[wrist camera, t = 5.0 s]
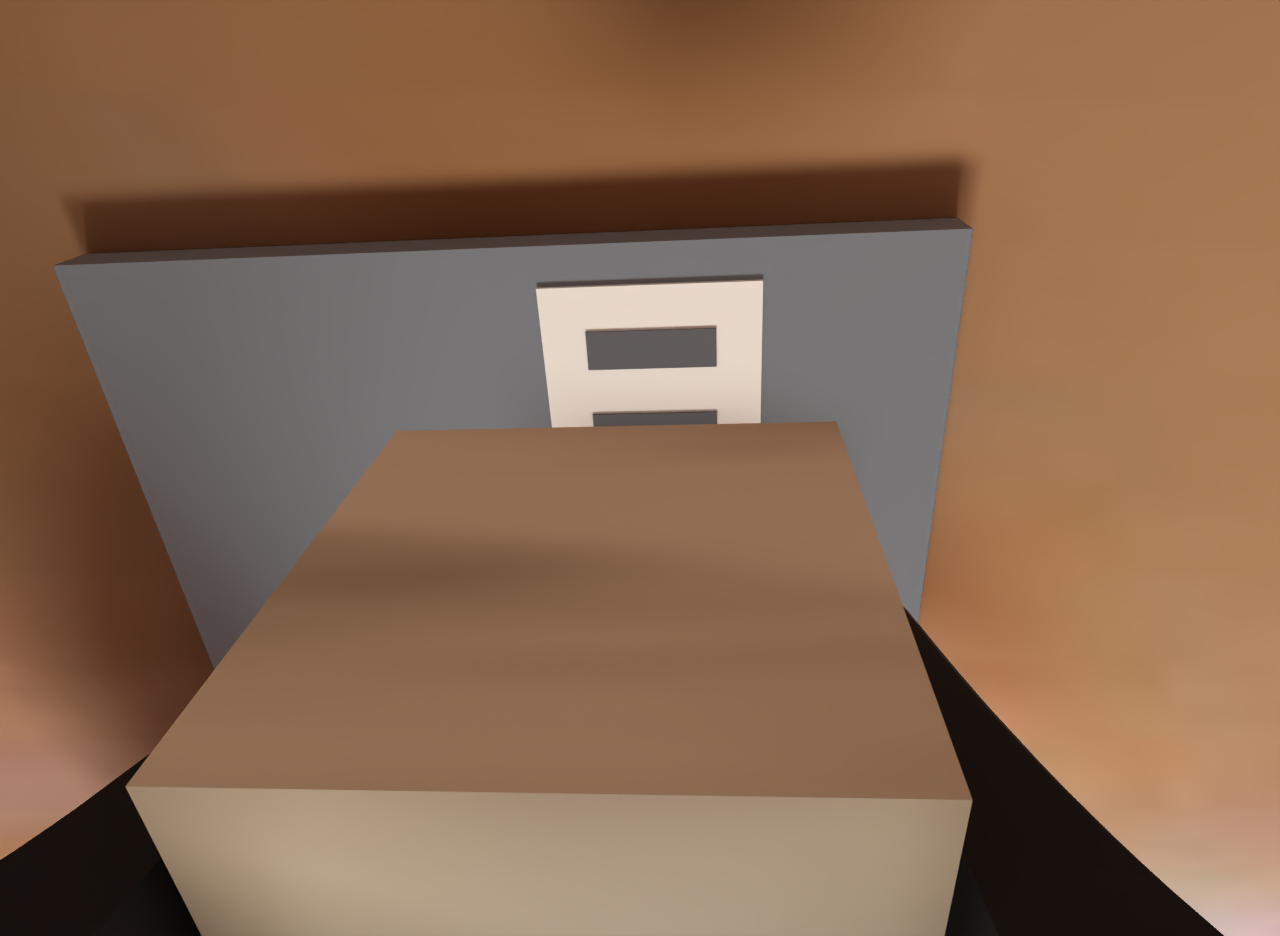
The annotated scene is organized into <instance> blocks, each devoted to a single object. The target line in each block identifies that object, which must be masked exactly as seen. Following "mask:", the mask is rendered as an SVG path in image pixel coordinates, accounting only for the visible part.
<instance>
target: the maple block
mask: <svg viewBox="0 0 1280 936" xmlns="http://www.w3.org/2000/svg"><path fill="white" fill-rule="evenodd" d="M125 787H126V789H127V791H128V793H129V795H130V797H131V799H132V801H133V803H134V805H135V807H136V808H137V810H138V812H139V814H140V816H141V818H142V820H143V822H144V824H145V826H146V828H147V830H148V832H149V834H150V836H151V838H152V840H153V842H154V844H155V846H156V848H157V849H158V851H159V853H160V855H161V857H162V859H163V861H164V863H165V865H166V867H167V869H168V871H169V873H170V875H171V877H172V879H173V881H174V883H175V885H176V887H177V889H178V891H179V892H180V894H181V896H182V898H183V900H184V902H185V904H186V906H187V908H188V910H189V912H190V914H191V916H192V918H193V920H194V922H195V924H196V926H197V928H198V930H199V932H200V933H201V935H202V936H945V931H946V926H947V921H948V917H949V912H950V907H951V902H952V897H953V892H954V887H955V883H956V878H957V873H958V868H959V863H960V858H961V854H962V849H963V844H964V839H965V834H966V829H967V825H968V820H969V815H970V810H971V805H972V797H971V794H970V791H969V789H968V786H967V783H966V780H965V778H964V775H963V772H962V769H961V766H960V764H959V761H958V758H957V755H956V753H955V750H954V747H953V744H952V741H951V739H950V736H949V733H948V730H947V728H946V725H945V722H944V719H943V716H942V714H941V711H940V708H939V705H938V703H937V700H936V697H935V694H934V691H933V689H932V686H931V683H930V680H929V678H928V675H927V672H926V669H925V666H924V664H923V661H922V658H921V655H920V653H919V650H918V647H917V644H916V641H915V639H914V636H913V633H912V630H911V628H910V625H909V622H908V619H907V616H906V614H905V611H904V608H903V605H902V603H901V600H900V597H899V594H898V591H897V589H896V586H895V583H894V580H893V578H892V575H891V572H890V569H889V566H888V564H887V561H886V558H885V555H884V553H883V550H882V547H881V544H880V541H879V539H878V536H877V533H876V530H875V528H874V525H873V522H872V519H871V516H870V514H869V511H868V508H867V505H866V503H865V500H864V497H863V494H862V491H861V489H860V486H859V483H858V480H857V478H856V475H855V472H854V469H853V466H852V464H851V461H850V458H849V455H848V453H847V450H846V447H845V444H844V441H843V439H842V436H841V433H840V430H839V428H838V425H837V422H836V421H833V422H786V423H740V424H693V425H647V426H600V427H554V428H507V429H461V430H414V431H396V432H395V434H394V435H393V436H392V438H391V439H390V440H389V441H388V443H387V444H386V445H385V447H384V448H383V449H382V451H381V452H380V453H379V455H378V456H377V457H376V459H375V460H374V461H373V462H372V464H371V465H370V466H369V468H368V469H367V470H366V472H365V473H364V474H363V476H362V477H361V478H360V480H359V481H358V482H357V483H356V485H355V486H354V487H353V489H352V490H351V491H350V493H349V494H348V495H347V497H346V498H345V499H344V500H343V502H342V503H341V504H340V506H339V507H338V508H337V510H336V511H335V512H334V514H333V515H332V516H331V518H330V519H329V520H328V521H327V523H326V524H325V525H324V527H323V528H322V529H321V531H320V532H319V533H318V535H317V536H316V537H315V539H314V540H313V541H312V542H311V544H310V545H309V546H308V548H307V549H306V550H305V552H304V553H303V554H302V556H301V557H300V558H299V559H298V561H297V562H296V563H295V565H294V566H293V567H292V569H291V570H290V571H289V573H288V574H287V575H286V577H285V578H284V579H283V580H282V582H281V583H280V584H279V586H278V587H277V588H276V590H275V591H274V592H273V594H272V595H271V596H270V598H269V599H268V600H267V601H266V603H265V604H264V605H263V607H262V608H261V609H260V611H259V612H258V613H257V615H256V616H255V617H254V618H253V620H252V621H251V622H250V624H249V625H248V626H247V628H246V629H245V630H244V632H243V633H242V634H241V636H240V637H239V638H238V639H237V641H236V642H235V643H234V645H233V646H232V647H231V649H230V650H229V651H228V653H227V654H226V655H225V657H224V658H223V659H222V660H221V662H220V663H219V664H218V666H217V667H216V668H215V670H214V671H213V672H212V674H211V675H210V676H209V677H208V679H207V680H206V681H205V683H204V684H203V685H202V687H201V688H200V689H199V691H198V692H197V693H196V695H195V696H194V697H193V698H192V700H191V701H190V702H189V704H188V705H187V706H186V708H185V709H184V710H183V712H182V713H181V714H180V716H179V717H178V718H177V719H176V721H175V722H174V723H173V725H172V726H171V727H170V729H169V730H168V731H167V733H166V734H165V735H164V736H163V738H162V739H161V740H160V742H159V743H158V744H157V746H156V747H155V748H154V750H153V751H152V752H151V754H150V755H149V756H148V757H147V759H146V760H145V761H144V763H143V764H142V765H141V767H140V768H139V769H138V771H137V772H136V773H135V775H134V776H133V777H132V778H131V780H130V781H129V782H128V784H127V785H126V786H125Z"/></svg>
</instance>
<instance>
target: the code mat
mask: <svg viewBox="0 0 1280 936" xmlns="http://www.w3.org/2000/svg"><path fill="white" fill-rule="evenodd" d="M972 231H973V228H971V227H970V226H968V225H967V224H966V223H964V222H963V221H961V220H960V219H958V218H937V219H913V220H889V221H865V222H841V223H817V224H793V225H768V226H744V227H720V228H696V229H672V230H648V231H624V232H599V233H575V234H551V235H527V236H503V237H479V238H455V239H430V240H406V241H382V242H358V243H334V244H310V245H286V246H261V247H237V248H213V249H189V250H165V251H141V252H117V253H92V254H84V255H81V256H78V257H76V258H73V259H70V260H67V261H64V262H62V263H59V264H56V265H53V268H54V270H55V273H56V275H57V278H58V280H59V283H60V285H61V288H62V290H63V293H64V295H65V298H66V300H67V303H68V305H69V308H70V310H71V313H72V315H73V318H74V320H75V323H76V325H77V328H78V330H79V333H80V335H81V338H82V340H83V343H84V345H85V348H86V350H87V353H88V355H89V358H90V360H91V363H92V365H93V368H94V370H95V373H96V375H97V378H98V380H99V383H100V385H101V388H102V390H103V393H104V395H105V398H106V400H107V403H108V405H109V408H110V410H111V413H112V415H113V418H114V420H115V423H116V425H117V428H118V430H119V433H120V435H121V438H122V440H123V443H124V445H125V448H126V450H127V453H128V455H129V458H130V460H131V463H132V465H133V468H134V470H135V473H136V475H137V478H138V480H139V483H140V485H141V488H142V490H143V493H144V495H145V498H146V500H147V503H148V505H149V508H150V510H151V513H152V515H153V518H154V520H155V523H156V525H157V528H158V530H159V533H160V535H161V538H162V540H163V543H164V545H165V548H166V550H167V553H168V555H169V558H170V560H171V563H172V565H173V568H174V570H175V573H176V575H177V578H178V580H179V583H180V585H181V588H182V590H183V593H184V595H185V598H186V600H187V603H188V605H189V608H190V610H191V613H192V615H193V618H194V620H195V623H196V625H197V628H198V630H199V633H200V635H201V638H202V640H203V643H204V645H205V648H206V650H207V653H208V655H209V658H210V660H211V663H212V665H213V668H214V670H215V668H216V667H217V666H218V664H219V663H220V662H221V660H222V659H223V658H224V657H225V655H226V654H227V653H228V651H229V650H230V649H231V647H232V646H233V645H234V643H235V642H236V641H237V639H238V638H239V637H240V636H241V634H242V633H243V632H244V630H245V629H246V628H247V626H248V625H249V624H250V622H251V621H252V620H253V618H254V617H255V616H256V615H257V613H258V612H259V611H260V609H261V608H262V607H263V605H264V604H265V603H266V601H267V600H268V599H269V598H270V596H271V595H272V594H273V592H274V591H275V590H276V588H277V587H278V586H279V584H280V583H281V582H282V580H283V579H284V578H285V577H286V575H287V574H288V573H289V571H290V570H291V569H292V567H293V566H294V565H295V563H296V562H297V561H298V559H299V558H300V557H301V556H302V554H303V553H304V552H305V550H306V549H307V548H308V546H309V545H310V544H311V542H312V541H313V540H314V539H315V537H316V536H317V535H318V533H319V532H320V531H321V529H322V528H323V527H324V525H325V524H326V523H327V521H328V520H329V519H330V518H331V516H332V515H333V514H334V512H335V511H336V510H337V508H338V507H339V506H340V504H341V503H342V502H343V500H344V499H345V498H346V497H347V495H348V494H349V493H350V491H351V490H352V489H353V487H354V486H355V485H356V483H357V482H358V481H359V480H360V478H361V477H362V476H363V474H364V473H365V472H366V470H367V469H368V468H369V466H370V465H371V464H372V462H373V461H374V460H375V459H376V457H377V456H378V455H379V453H380V452H381V451H382V449H383V448H384V447H385V445H386V444H387V443H388V441H389V440H390V439H391V438H392V436H393V435H394V434H395V432H396V431H414V430H461V429H507V428H554V427H600V426H647V425H693V424H740V423H786V422H833V421H836V422H837V425H838V428H839V430H840V433H841V436H842V439H843V441H844V444H845V447H846V450H847V453H848V455H849V458H850V461H851V464H852V466H853V469H854V472H855V475H856V478H857V480H858V483H859V486H860V489H861V491H862V494H863V497H864V500H865V503H866V505H867V508H868V511H869V514H870V516H871V519H872V522H873V525H874V528H875V530H876V533H877V536H878V539H879V541H880V544H881V547H882V550H883V553H884V555H885V558H886V561H887V564H888V566H889V569H890V572H891V575H892V578H893V580H894V583H895V586H896V589H897V591H898V594H899V597H900V600H901V603H902V605H903V607H904V608H905V609H907V610H908V612H909V613H910V614H911V615H912V617H913V618H914V619H915V620H916V621H917V623H918V618H919V611H920V604H921V597H922V590H923V582H924V575H925V568H926V561H927V554H928V546H929V539H930V532H931V525H932V518H933V511H934V503H935V496H936V489H937V482H938V475H939V467H940V460H941V453H942V446H943V439H944V432H945V424H946V417H947V410H948V403H949V396H950V388H951V381H952V374H953V367H954V360H955V353H956V345H957V338H958V331H959V324H960V317H961V310H962V302H963V295H964V288H965V281H966V274H967V266H968V259H969V252H970V245H971V238H972Z"/></svg>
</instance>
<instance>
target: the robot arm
mask: <svg viewBox="0 0 1280 936" xmlns="http://www.w3.org/2000/svg"><path fill="white" fill-rule="evenodd" d="M903 608H904V607H903ZM904 611H905V614H906V616H907V619H908V622H909V625H910V628H911V630H912V633H913V636H914V639H915V641H916V644H917V647H918V650H919V653H920V655H921V658H922V661H923V664H924V666H925V669H926V672H927V675H928V678H929V680H930V683H931V686H932V689H933V691H934V694H935V697H936V700H937V703H938V705H939V708H940V711H941V714H942V716H943V719H944V722H945V725H946V728H947V730H948V733H949V736H950V739H951V741H952V744H953V747H954V750H955V753H956V755H957V758H958V761H959V764H960V766H961V769H962V772H963V775H964V778H965V780H966V783H967V786H968V789H969V791H970V794H971V797H972V805H971V810H970V815H969V820H968V825H967V829H966V834H965V839H964V844H963V849H962V854H961V858H960V863H959V868H958V873H957V878H956V883H955V887H954V892H953V897H952V902H951V907H950V912H949V917H948V921H947V926H946V931H945V936H1224V935H1223V934H1221V933H1220V932H1219V931H1218V930H1217V929H1216V928H1214V927H1213V926H1212V925H1211V924H1210V923H1209V922H1208V921H1206V920H1205V919H1204V918H1203V917H1202V916H1201V915H1199V914H1198V913H1197V912H1196V911H1195V910H1194V909H1193V908H1191V907H1190V906H1189V905H1188V904H1187V903H1186V902H1184V901H1183V900H1182V899H1181V898H1180V897H1179V896H1178V895H1176V894H1175V893H1174V892H1173V891H1172V890H1171V889H1170V888H1169V887H1167V886H1166V885H1165V884H1164V883H1163V882H1162V881H1161V880H1160V879H1159V878H1158V877H1156V876H1155V875H1154V874H1153V873H1152V872H1151V871H1150V870H1149V869H1148V868H1147V867H1146V866H1144V865H1143V864H1142V863H1141V862H1140V861H1139V860H1138V859H1137V858H1136V857H1135V856H1134V855H1133V854H1132V853H1131V852H1130V851H1129V850H1127V849H1126V848H1125V847H1124V846H1123V845H1122V844H1121V843H1120V842H1119V841H1118V840H1117V839H1116V838H1115V837H1114V836H1113V835H1112V834H1111V833H1110V832H1109V831H1108V830H1107V829H1106V828H1105V827H1104V826H1103V825H1101V824H1100V823H1099V822H1098V821H1097V820H1096V819H1095V818H1094V817H1093V816H1092V815H1091V814H1090V813H1089V812H1088V811H1087V810H1086V809H1085V808H1084V807H1083V806H1082V805H1081V804H1080V803H1079V802H1078V801H1077V800H1076V799H1075V798H1074V797H1073V796H1072V795H1071V794H1070V793H1069V792H1068V791H1067V790H1066V789H1065V788H1064V787H1063V786H1062V785H1061V784H1060V783H1059V782H1058V781H1057V780H1056V779H1055V778H1054V777H1053V776H1052V775H1051V773H1050V772H1049V771H1048V770H1047V769H1046V768H1045V767H1044V766H1043V765H1042V764H1041V763H1040V762H1039V761H1038V760H1037V759H1036V758H1035V757H1034V756H1033V755H1032V753H1031V752H1030V751H1029V750H1028V749H1027V748H1026V747H1025V746H1024V745H1023V744H1022V743H1021V742H1020V740H1019V739H1018V738H1017V737H1016V736H1015V735H1014V734H1013V733H1012V732H1011V731H1010V730H1009V729H1008V728H1007V726H1006V725H1005V724H1004V723H1003V722H1002V721H1001V720H1000V719H999V718H998V717H997V716H996V715H995V713H994V712H993V711H992V710H991V709H990V708H989V707H988V706H987V704H986V703H985V702H984V701H983V700H982V699H981V698H980V697H979V695H978V694H977V693H976V692H975V691H974V690H973V688H972V687H971V686H970V685H969V684H968V683H967V681H966V680H965V679H964V678H963V677H962V676H961V674H960V673H959V672H958V671H957V670H956V669H955V667H954V666H953V665H952V664H951V663H950V662H949V660H948V659H947V658H946V657H945V656H944V654H943V653H942V652H941V651H940V650H939V648H938V647H937V646H936V645H935V644H934V642H933V641H932V640H931V639H930V637H929V636H928V635H927V634H926V633H925V631H924V630H923V629H922V628H921V626H920V625H919V624H918V623H917V621H916V620H915V619H914V618H913V617H912V615H911V614H910V613H909V612H908V610H907V609H905V608H904ZM150 754H151V753H150ZM150 754H149V755H150ZM149 755H147V756H146V757H145V758H143V759H142V760H141V761H139V762H138V763H137V764H135V765H134V766H133V767H131V768H130V769H129V770H127V771H126V772H124V773H123V774H122V775H120V776H119V777H118V778H116V779H115V780H114V781H112V782H111V783H110V784H108V785H107V786H106V787H104V788H103V789H102V790H100V791H99V792H98V793H96V794H95V795H94V796H92V797H91V798H90V799H88V800H87V801H85V802H84V803H83V804H81V805H80V806H79V807H77V808H76V809H75V810H73V811H72V812H70V813H69V814H67V815H66V816H65V817H63V818H62V819H60V820H59V821H57V822H56V823H55V824H53V825H52V826H50V827H49V828H47V829H46V830H44V831H43V832H42V833H40V834H39V835H37V836H36V837H34V838H33V839H31V840H30V841H28V842H27V843H25V844H24V845H22V846H21V847H20V848H18V849H17V850H15V851H14V852H12V853H11V854H9V855H7V856H6V857H4V858H3V859H1V860H0V936H202V935H201V933H200V932H199V930H198V928H197V926H196V924H195V922H194V920H193V918H192V916H191V914H190V912H189V910H188V908H187V906H186V904H185V902H184V900H183V898H182V896H181V894H180V892H179V891H178V889H177V887H176V885H175V883H174V881H173V879H172V877H171V875H170V873H169V871H168V869H167V867H166V865H165V863H164V861H163V859H162V857H161V855H160V853H159V851H158V849H157V848H156V846H155V844H154V842H153V840H152V838H151V836H150V834H149V832H148V830H147V828H146V826H145V824H144V822H143V820H142V818H141V816H140V814H139V812H138V810H137V808H136V807H135V805H134V803H133V801H132V799H131V797H130V795H129V793H128V791H127V789H126V787H125V786H126V785H127V784H128V782H129V781H130V780H131V778H132V777H133V776H134V775H135V773H136V772H137V771H138V769H139V768H140V767H141V765H142V764H143V763H144V761H145V760H146V759H147V757H148V756H149Z"/></svg>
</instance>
